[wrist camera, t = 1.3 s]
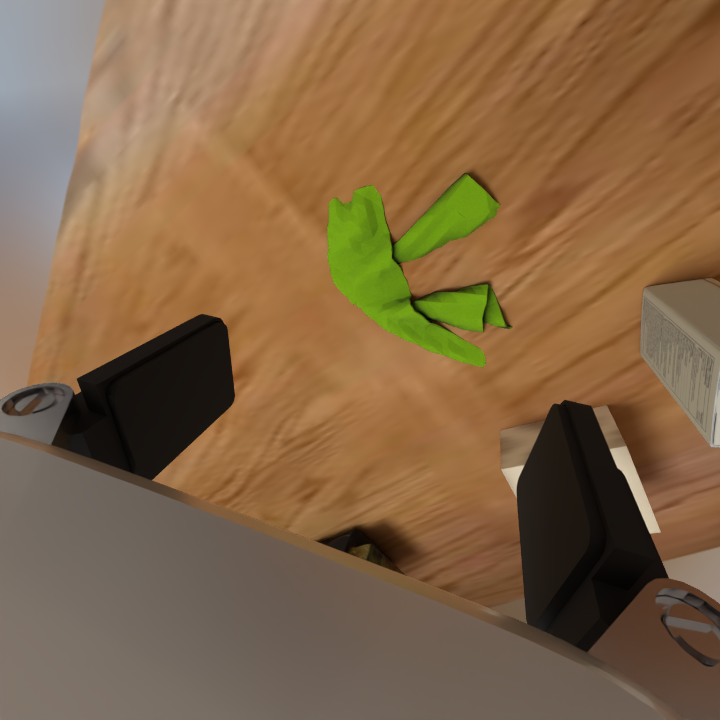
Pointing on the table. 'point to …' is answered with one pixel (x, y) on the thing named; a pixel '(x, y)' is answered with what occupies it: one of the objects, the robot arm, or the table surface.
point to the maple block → (523, 438)
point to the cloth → (380, 260)
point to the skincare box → (686, 347)
